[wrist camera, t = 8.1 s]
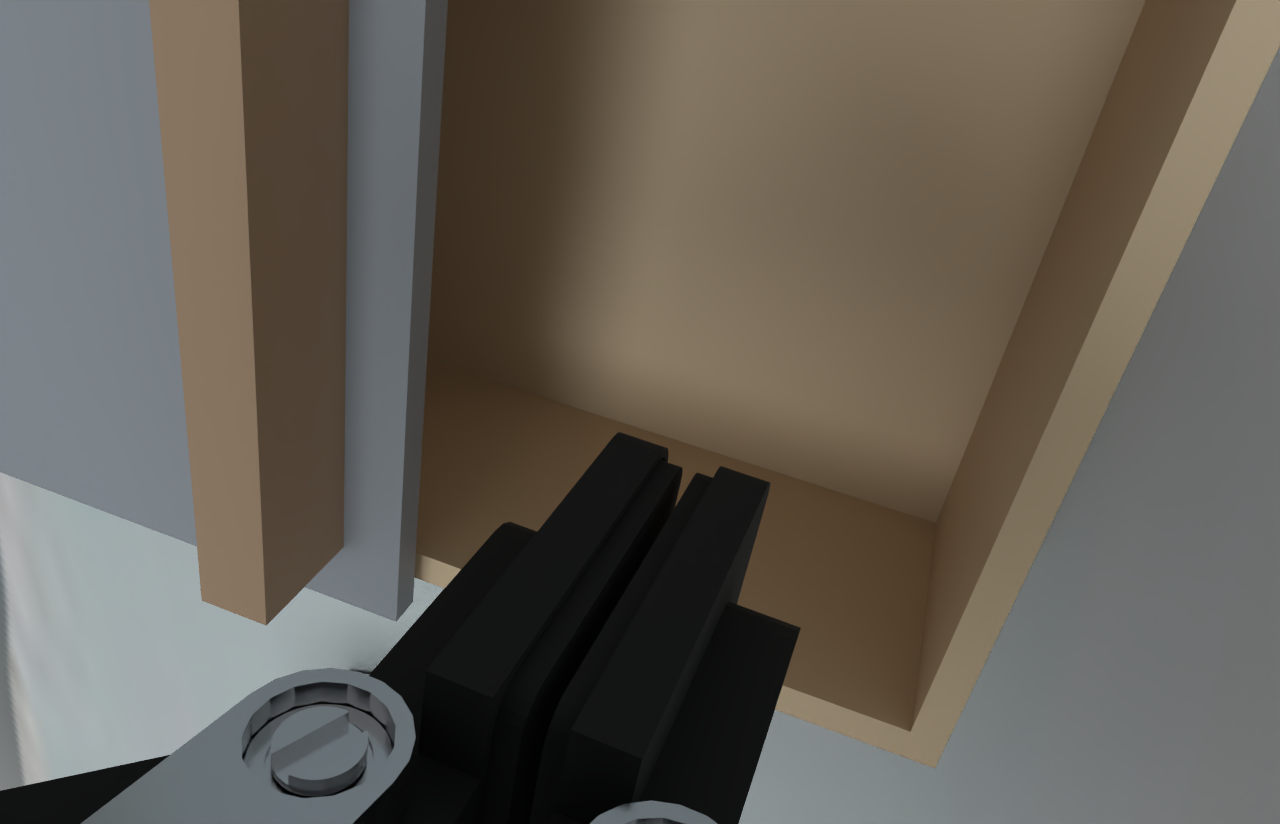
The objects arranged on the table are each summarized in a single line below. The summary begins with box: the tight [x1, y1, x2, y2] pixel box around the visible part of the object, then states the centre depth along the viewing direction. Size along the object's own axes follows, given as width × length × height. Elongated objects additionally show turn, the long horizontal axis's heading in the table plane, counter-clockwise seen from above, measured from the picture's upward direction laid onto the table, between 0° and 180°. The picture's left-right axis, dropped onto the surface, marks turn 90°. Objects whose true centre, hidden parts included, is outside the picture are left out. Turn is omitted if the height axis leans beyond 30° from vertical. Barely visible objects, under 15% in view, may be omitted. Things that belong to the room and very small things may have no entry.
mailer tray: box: [414, 0, 1280, 768], centre depth 18 cm, size 18×14×7 cm
